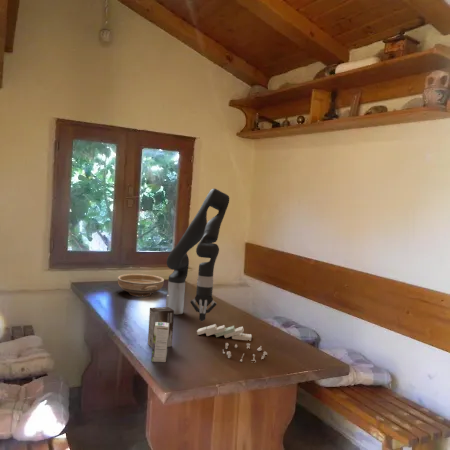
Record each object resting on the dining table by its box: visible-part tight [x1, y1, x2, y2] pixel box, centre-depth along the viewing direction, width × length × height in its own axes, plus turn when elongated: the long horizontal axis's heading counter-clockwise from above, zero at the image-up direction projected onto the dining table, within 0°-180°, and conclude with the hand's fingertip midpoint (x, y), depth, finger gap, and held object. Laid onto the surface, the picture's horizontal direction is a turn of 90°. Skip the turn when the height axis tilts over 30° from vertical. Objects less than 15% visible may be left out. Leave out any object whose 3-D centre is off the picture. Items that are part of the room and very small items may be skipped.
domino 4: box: [223, 326, 245, 339], centre depth 228 cm, size 2×5×9 cm
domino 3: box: [214, 325, 236, 338], centre depth 228 cm, size 2×5×9 cm
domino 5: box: [231, 333, 252, 341], centre depth 228 cm, size 2×5×9 cm
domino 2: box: [205, 324, 226, 337], centre depth 229 cm, size 2×5×9 cm
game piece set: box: [222, 342, 268, 363], centre depth 206 cm, size 19×20×4 cm
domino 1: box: [196, 323, 218, 336], centre depth 229 cm, size 2×5×9 cm
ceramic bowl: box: [117, 273, 165, 297], centre depth 299 cm, size 37×29×10 cm
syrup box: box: [151, 322, 169, 363], centre depth 191 cm, size 6×6×14 cm
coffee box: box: [147, 306, 175, 348], centre depth 208 cm, size 9×6×16 cm
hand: (202, 320), depth 229 cm, fingers closed
